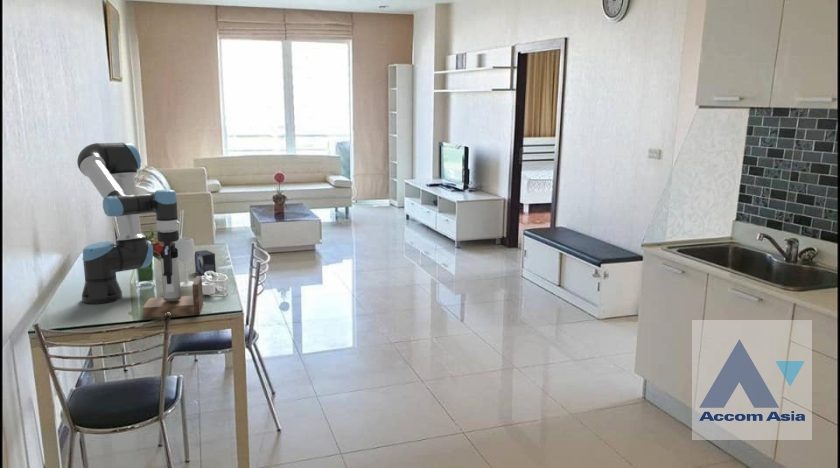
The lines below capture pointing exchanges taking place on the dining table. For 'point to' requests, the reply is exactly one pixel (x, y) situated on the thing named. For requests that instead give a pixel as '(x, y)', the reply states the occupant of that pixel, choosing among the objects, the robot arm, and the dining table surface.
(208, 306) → the dining table surface
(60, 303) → the dining table surface
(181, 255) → the wineglass
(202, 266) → the small box
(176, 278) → the travel mug
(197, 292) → the ledge
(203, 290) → the car outline toy
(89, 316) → the dining table surface
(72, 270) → the dining table surface
